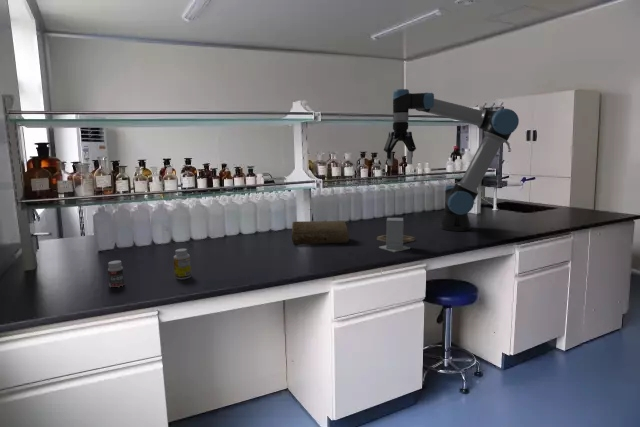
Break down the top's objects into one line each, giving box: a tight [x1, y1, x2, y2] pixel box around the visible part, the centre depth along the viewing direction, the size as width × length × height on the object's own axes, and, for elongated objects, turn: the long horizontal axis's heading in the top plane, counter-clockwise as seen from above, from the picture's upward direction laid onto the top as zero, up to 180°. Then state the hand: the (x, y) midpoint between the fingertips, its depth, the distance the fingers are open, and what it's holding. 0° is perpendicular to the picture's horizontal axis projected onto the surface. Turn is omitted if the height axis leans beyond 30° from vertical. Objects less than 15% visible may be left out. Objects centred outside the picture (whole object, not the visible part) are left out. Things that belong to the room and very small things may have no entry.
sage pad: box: [378, 244, 411, 253], centre depth 188 cm, size 10×10×1 cm
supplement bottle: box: [173, 248, 192, 280], centre depth 152 cm, size 6×6×10 cm
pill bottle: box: [107, 259, 125, 288], centre depth 144 cm, size 5×5×8 cm
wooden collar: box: [376, 234, 416, 244], centre depth 203 cm, size 13×13×2 cm
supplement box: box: [385, 217, 405, 249], centre depth 187 cm, size 7×7×13 cm
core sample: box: [291, 220, 350, 245], centre depth 202 cm, size 14×26×10 cm, turn 93°
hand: (399, 165), depth 214 cm, fingers open, 13 cm apart
